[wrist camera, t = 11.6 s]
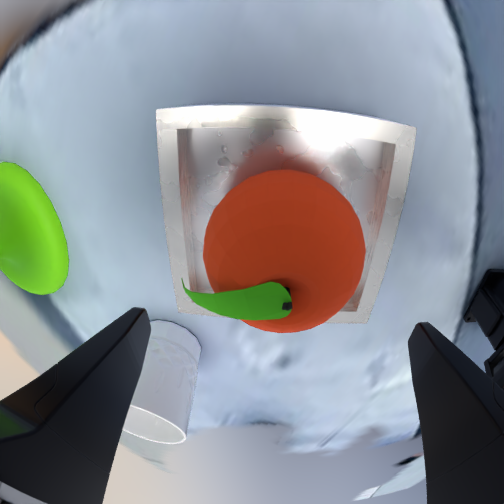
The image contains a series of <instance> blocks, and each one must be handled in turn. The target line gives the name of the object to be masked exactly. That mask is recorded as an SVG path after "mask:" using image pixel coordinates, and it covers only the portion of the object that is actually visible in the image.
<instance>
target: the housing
mask: <svg viewBox="0 0 504 504" xmlns="http://www.w3.org/2000/svg"><path fill="white" fill-rule="evenodd" d="M156 126H157V146H158V161H159V174H160V185H161V195H162V205H163V214H164V222H165V231H166V238H167V246H168V253H169V259H170V266H171V272H172V279H173V285H174V290H175V296H176V302H177V307H178V312H179V313H187V314H196V315H206V316H217V317H226V316H221V315H219V314H216V313H214V312H211V311H209V310H207V309H205V308H203V307H201V306H199V305H197V304H196V303H195V302H194V301H193V300H192V299H191V298H190V297H189V296H188V295H187V294H186V293H185V290H184V288H183V284H182V280H181V278H182V279H183V282H184V286H185V288H187V289H188V290H190V291H192V292H199V293H212V294H213V293H214V291H213V289H212V287H211V286H210V283H209V280H208V277H207V274H206V270H205V265H204V261H203V247H204V237H205V232H206V227H207V225H208V222H209V220H210V217H211V215H212V213H213V210H214V209H215V208H216V206H217V205H218V204H219V203H220V201H221V200H222V199H223V198H224V197H225V195H226V194H227V193H228V192H229V191H230V190H231V189H232V188H234V187H235V186H237V185H238V184H240V183H241V182H243V181H244V180H246V179H247V178H249V177H251V176H254V175H257V174H260V173H263V172H266V171H271V170H287V169H291V170H296V171H301V172H305V173H310V174H312V175H314V176H316V177H318V178H320V179H322V180H324V181H326V182H328V183H329V184H331V185H332V186H333V187H335V188H336V189H337V190H338V191H339V192H340V193H341V194H342V195H343V196H344V197H345V198H346V199H347V200H348V201H349V202H350V204H351V205H352V207H353V209H354V211H355V213H356V214H357V216H358V218H359V220H360V224H361V227H362V231H363V236H364V241H365V247H366V253H365V261H364V268H363V272H362V276H361V279H360V282H359V284H358V286H357V288H356V290H355V293H354V294H353V296H352V297H351V298H350V299H349V301H348V302H347V303H346V304H345V305H344V307H343V308H342V309H341V310H340V311H339V312H337V313H336V314H335V315H334V316H332V317H331V318H330V319H328V320H327V321H326V322H324V323H367V322H368V319H369V317H370V314H371V311H372V309H373V306H374V303H375V300H376V297H377V295H378V292H379V289H380V286H381V283H382V280H383V277H384V274H385V270H386V267H387V264H388V261H389V257H390V254H391V250H392V247H393V243H394V240H395V236H396V232H397V228H398V225H399V221H400V216H401V212H402V208H403V204H404V199H405V195H406V190H407V185H408V180H409V174H410V169H411V163H412V157H413V151H414V144H415V137H416V130H417V128H415V127H412V126H409V125H405V124H402V123H398V122H395V121H391V120H387V119H383V118H379V117H374V116H369V115H363V114H357V113H351V112H345V111H337V110H330V109H322V108H312V107H302V106H290V105H273V104H238V103H229V104H194V105H184V106H176V107H169V108H162V109H156ZM228 318H230V317H228Z"/></svg>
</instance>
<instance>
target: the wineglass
mask: <svg viewBox="0 0 504 504" xmlns="http://www.w3.org/2000/svg"><path fill="white" fill-rule="evenodd" d="M68 265H69V257H68V250H67V242H66V239H65V236H64V232H63V229H62V226H61V222H60V220H59V218H58V216H57V214H56V212H55V209H54V207H53V205H52V203H51V201H50V199H49V198H48V196H47V195H46V193H45V192H44V190H43V189H42V187H41V186H40V184H39V183H38V182H37V181H36V180H35V179H34V178H33V177H32V176H31V175H30V174H29V173H28V171H26V170H25V169H23V168H21V167H20V166H18V165H16V164H15V163H8V162H2V163H0V269H1V271H2V272H3V273H4V274H5V275H6V276H7V277H8V278H9V279H10V280H11V281H12V282H14V283H15V284H16V285H17V286H19V287H20V288H22V289H24V290H26V291H28V292H30V293H34V294H39V295H45V294H50V293H54V292H56V291H57V290H58V289H59V288H61V287H62V286H63V284H64V282H65V280H66V278H67V275H68Z"/></svg>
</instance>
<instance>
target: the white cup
mask: <svg viewBox="0 0 504 504" xmlns="http://www.w3.org/2000/svg"><path fill="white" fill-rule="evenodd" d="M150 325H151V334H150V338H149V342H148V346H147V350H146V355H145V359H144V363H143V368H142V371H141V375H140V378H139V381H138V383H137V386H136V389H135V392H134V395H133V398H132V401H131V404H130V407H129V410H128V413H127V417H126V420H125V423H124V426H123V430H125V431H127V432H129V433H131V434H133V435H135V436H138V437H141V438H143V439H147V440H150V441H154V442H158V443H165V444H178V443H182V442H184V441H185V440H186V438H187V432H188V426H189V420H190V415H191V410H192V404H193V398H194V393H195V388H196V380H197V375H198V372H197V369H198V362H199V357H200V353H201V346H200V344H199V342H198V340H197V338H196V337H195V336H194V335H193V334H192V333H190V332H189V331H188V330H187V329H186V328H184V327H181V326H179V325H177V324H175V323H173V322H168V321H161V320H155V321H151V322H150Z"/></svg>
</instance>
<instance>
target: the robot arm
mask: <svg viewBox="0 0 504 504" xmlns="http://www.w3.org/2000/svg"><path fill="white" fill-rule="evenodd" d="M464 320H465V322H478V324H479V326H480V328H481V329H482V331H483V333H484V334H485V336H486V337H488V339H489V341H490V343H491V345H492V346H493V348H494V350H496V351H495V352H494V353H493V354H492V355H491V357H490V358H489V359H487V360H486V361H485V362H484V365H485V371H486V373H485V372H484V371H483V370H481V369H480V368H479V367H478V366H477V365H476V364H475V363H474V362H473V361H472V360H471V359H470V358H469V357H467V356H466V355H465V354H464V353H463V352H462V351H461V350H460V349H459V348H457V347H456V346H455V345H454V344H453V343H452V342H451V341H450V340H448V339H447V338H446V337H445V336H444V335H443V334H442V333H440V332H439V331H438V330H437V329H436V328H435V327H433V326H432V325H431V324H430V323H428V322H419V323H417V324H416V326H415V328H414V330H413V332H412V334H411V336H410V338H409V340H408V349H409V356H410V364H411V373H412V381H413V387H414V392H415V397H416V403H417V408H418V414H419V420H420V427H421V434H422V441H423V450H424V459H425V470H426V483H427V484H426V486H427V504H504V270H488V271H487V273H486V274H485V277H484V279H483V281H482V283H481V285H480V287H479V289H478V291H477V293H476V295H475V297H474V299H473V301H472V303H471V305H470V307H469V309H468V311H467V313H466V315H465V316H464ZM150 334H151V325H150V321H149V318H148V314H147V311H146V310H145V309H144V308H138V307H133V308H132V309H130V310H129V311H127V312H126V313H125V314H123V315H122V316H120V317H119V318H118V319H116V320H115V321H114V322H112V323H111V324H109V325H108V326H107V327H105V328H104V329H103V330H101V331H100V332H98V333H97V334H96V335H94V336H93V337H92V338H90V339H89V340H87V341H86V342H85V343H83V344H82V345H81V346H79V347H78V348H77V349H75V350H74V351H73V352H71V353H70V354H69V355H67V356H66V357H65V358H63V359H62V360H61V361H59V362H58V364H55V365H54V366H53V367H51V368H50V369H49V370H47V371H46V372H44V373H43V374H42V375H40V376H39V377H37V378H36V379H34V380H33V381H31V382H30V383H28V384H27V385H25V386H24V387H22V388H20V389H19V390H17V391H16V392H14V393H12V394H11V395H9V396H7V397H6V398H4V399H2V400H1V401H0V504H102V503H103V499H104V494H105V491H106V486H107V482H108V479H109V475H110V474H109V473H110V471H111V467H112V463H113V460H114V456H115V452H116V449H117V446H118V443H119V439H120V436H121V433H122V429H123V426H124V423H125V420H126V417H127V413H128V410H129V407H130V404H131V401H132V398H133V395H134V392H135V389H136V386H137V383H138V381H139V378H140V375H141V371H142V368H143V363H144V359H145V355H146V350H147V346H148V342H149V338H150Z"/></svg>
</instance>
